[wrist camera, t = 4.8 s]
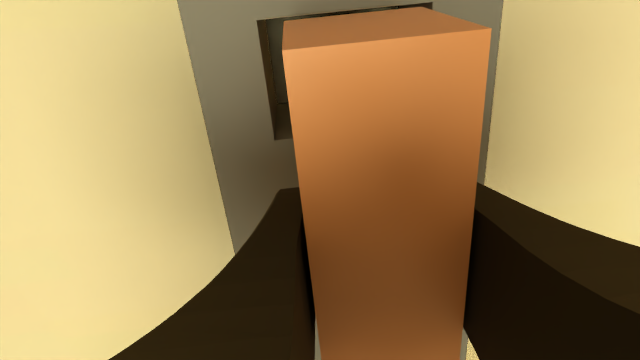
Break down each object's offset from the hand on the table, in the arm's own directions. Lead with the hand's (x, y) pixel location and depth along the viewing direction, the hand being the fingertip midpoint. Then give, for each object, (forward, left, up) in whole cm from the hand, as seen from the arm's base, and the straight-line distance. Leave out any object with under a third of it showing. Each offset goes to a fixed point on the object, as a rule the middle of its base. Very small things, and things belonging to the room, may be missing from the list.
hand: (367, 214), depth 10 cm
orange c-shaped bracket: (0, 0, -4) cm, 4 cm away
